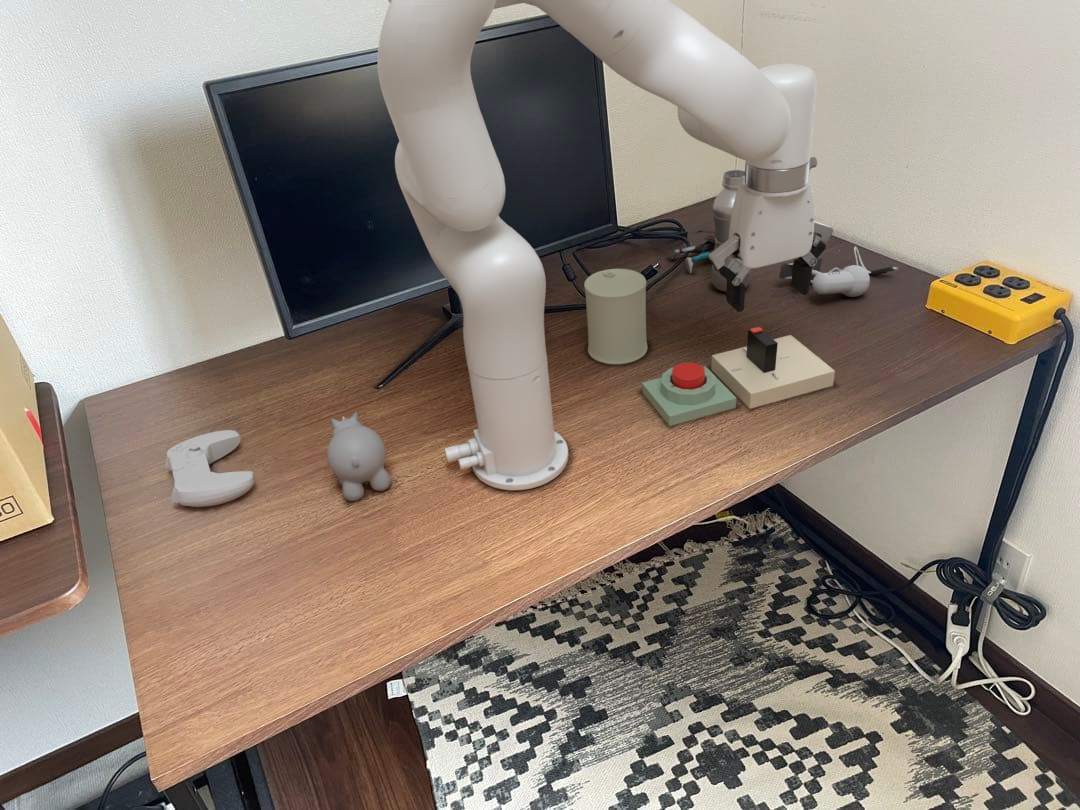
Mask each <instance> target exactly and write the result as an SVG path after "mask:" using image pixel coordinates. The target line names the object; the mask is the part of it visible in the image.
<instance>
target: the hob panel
mask: <svg viewBox="0 0 1080 810" xmlns="http://www.w3.org/2000/svg"><path fill="white" fill-rule="evenodd" d="M773 339H774V340H775V341H776V342H777V343H778V345H777V356H776V367H775V370H773V371H770V372H766V373H763V372H762V371H761V370H760V369H759V368H758V367H757V366H756V365H755V364H754V363H753V362H751V361H750V360H749V359H748V358H747V357H746V354H747V345H746V346H742V347H738V348H735V349H731V350H727V351H723V352H720V353H715V354H712V355H711V367H710V369H711V370H710V371H711V372H712V373H713V374H714V375H715V376H716V377H717V378H718V379H719V380H721V382H722V383H723V384H724V385H725V386H727V388H728V389H729V390H731V392H732V393H734V395H736V396H737V398H739V400H740V401H742V402H743V404H744V405H745V406H746V407H747V408H748V409H749V410H750V409H751V410H752V409H754V408H757V407H761V406H765V405H768V404H772V403H776V402H781V401H782V400H786V399H790V398H794V397H797V396H801V395H803V394H804V395H805V394H808V393H812V392H815V391H820V390H823V389H827V388H831V387H833V386H834V381H835V374H836V370H834V369H833V368H832V366H830V365H828V364H827V363H826V362H825V361H823V360H822V359H821V358H820V357H819V356H817V354H815V353H813V352H812V351H811V350H810V349H809V348H808V347H806V346H805V345H804V344H802V343H801V342H800V341H799V340H798V339H797V338H795V337H794V336H793V335H791V334H789V335H785V336H781V337H777V338H773Z"/></svg>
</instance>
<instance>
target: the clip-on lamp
mask: <svg viewBox="0 0 1080 810" xmlns="http://www.w3.org/2000/svg"><path fill="white" fill-rule="evenodd" d="M853 253H854V258H855V262H856V264H851V265H848V266H845V267H844V268H843V269H841V268H840V267H834V268H832V269H830V270H829V271H828V272H821V267H822V262H823V258H822V257H818V258H817V263H816V265H815V266H812V273H811V282H810V284H811V285H812V289H813V291H814V292H815V293H816V294H817V295H821V296H822V295H832V294H834V295H835V294H842V295H844V296H846V297H849V298H850V297H851V298H855V297H859V296H862V295H863V294H865V293H866V292H867V291H868V289H869V287H870V282H871V277H870V274H871V275H874V276H875V275H878V276H880V275H882V274H888V273H889V272H893V271H898V270H899V267H895V266H894V265H893V266H886V267H882V268H877V269H872V270H868V269H867V268H866V267H865V265H864V263H863V260H862V257H861V255H860V252H859V249H858V247H857V246H854V247H853ZM858 260H859V261H858ZM793 262H794V261H787V262H782V264H781V265H780V270H779V278H780V279H783V280H784V279H790V280H792V270H793ZM859 263H860V265H859Z"/></svg>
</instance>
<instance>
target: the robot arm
mask: <svg viewBox="0 0 1080 810" xmlns="http://www.w3.org/2000/svg"><path fill="white" fill-rule="evenodd" d="M387 1H388V3H389V5H388V7H387V11H386V12H385V16H384V19H383V22H382V27H381V31H380V35H379V40H378V47H377V61H376V62H377V74H378V75H377V76H378V82H379V86H380V90H381V93H382V97H383V99H384V103H385V106H386V109H387V112H388V114H389V116H390V118H391V122H392V125H393V127H394V130H395V133H396V136H397V138H398V142H397V146H396V149H395V155H394V169H395V174H396V179H397V181H398V184H399V187H400V189H401V192H402V195H403V197H404V199H405V202H406V204H407V206H408V208H409V210H410V213H411V215H412V218H413V220H414V223H415V224H416V225H415V226H416V227H417V230H418V231H419V234H420V236H421V238H422V241H423V242H424V245H425V247H426V249H427V251H428V253H429V255H430V257H431V260H432V261H433V263H434V265H435V266H436V268H437V269H438V271H439V272H440V273H441V275H443V277H444V278H445V279H446V280H447V282H448V283H449V284H450V285H449V286H451V288H452V289H453V290H454V291H455V293H456V294H457V296H458V298H459V301H460V303H461V307H462V315H463V317H462V318H463V322H462V323H463V324H462V334H463V336H462V337H463V345H464V354H465V359H466V365H467V370H468V375H469V381H470V387H471V394H472V398H473V406H474V411H475V418H476V423H477V424H476V425H477V428H476V429H473V437H472V438H470V439H469V438H468V439H467V442H466V443H462V444H456V445H451V446H447V447H444V448H443V451H444V456H445V459H446V462H447V463H448V464H450V463H453V462H457V461H458V466H459V469H460V470H461V471H462V470H465V469H470V468H471V467H472V471H473V473H474V475H475V476H476V477H477V478H478V479H479V481H481V482H482V483H484V484H485V485H487V486H488V487H489V486H490V487H492V488H495V489H499V490H504V491H525V490H532V489H534V488H537V487H540V486H541V487H542V486H544V485H546V484H548V483H550V482H551V481H553V480H554V479H556V478H557V477H559V475H561V474H562V473H563V471H564V469H566V466H567V464H568V462H569V456H570V455H569V446H568V444H567V441H566V440H565V439H564V437H563V436H562V435H561V434H560V433H558V432H557V431H555V425H554V413H553V404H552V396H551V385H550V383H551V382H550V376H549V375H550V373H549V365H548V364H549V363H548V354H547V346H546V345H547V344H546V336H545V335H546V333H545V303H546V293H547V281H546V273H545V269H544V265H543V263H542V261H541V259H540V256H539V255H538V254H537V252H536V250H535V249H534V248H533V247H532V245H531V244H530V243H529V242H528V241H527V240H526V239H525V237H523V236H522V235H521V234H520V233H518V232H517V230H515V229H514V228H513V227H512V226H510V225H508V224H507V223H506V222H505V221H504V220H503V218H501V217H500V214H501V212H502V209H503V208H504V204H505V199H506V182H505V175H504V172H503V169H502V166H501V162H500V160H499V157H498V156H497V152H496V150H495V148H494V146H493V143H492V140H491V137H490V134H489V132H488V129H487V126H486V122H485V119H484V117H483V114H482V112H481V109H480V106H479V102H478V100H477V95H476V91H475V88H474V83H473V79H472V74H471V62H472V61H471V60H472V54H473V50H474V47H475V44H476V42H477V39H478V37H479V35H480V33H481V31H482V29H483V28H484V27H485V25H486V23H487V21H488V20H489V18H490V17H491V14H492V12H493V10H496V9H500V8H501V9H502V8H506V7H510V6H515V5H521V4H526V5H530V6H533V7H536V8H538V9H539V10H540V11H542V12H543V13H544V14H545V15H547V16H548V17H549V18H551V19H552V20H553V21H555V22H556V23H557V24H558V25H559V26H560V27H561V28H562V29H564V30H565V31H566V32H568V33H569V34H570V35H572V36H573V37H574V38H575V39H576V40H577V41H578V42H580V43H581V44H582V45H583V46H585V47H586V48H587V49H588V50H589V51H590V52H592V53H593V54H594V55H595V56H596V57H597V58H598V59H599V60H600V61H602V62H603V63H604V64H605V65H606V66H607V67H609V68H610V70H612V71H613V72H615V74H617V75H619V76H620V77H622V78H623V79H625V80H627V81H628V82H630V83H631V84H632V85H634V86H636V87H638V88H640V89H642V90H643V91H646V92H648V93H650V94H653V95H654V96H657V97H659V98H661V99H663V100H665V101H667V102H668V103H670V104H672V105H675V106H676V107H677V118H678V122H679V125H680V126H681V127H682V129H683V130H684V131H685V133H687V135H689V136H690V137H692V138H693V139H695V140H697V141H699V142H701V143H704V144H706V145H709V146H711V147H712V148H716V149H717V150H720V151H722V152H724V153H726V154H729V155H731V156H733V157H735V158H737V159H739V160H743V161H744V162H745V164H744V165H745V166H744V171H745V183H744V185H741V186H739V187H738V190H737V193H736V196H735V200H734V204H733V209H732V215H731V222H730V229H729V239H728V240H727V241H726V242H725V243H723V244H722V245H721V246H719V247H718V248H717V249H715V250H714V251H713V252H712V253H710V255H709V259H708V260H709V261H710V263H711V265H712V264H713V266H714V268H715V270H716V271H717V272H718V273H719V274H720V275H722V276H723V277H724V278H726V279H727V286H726V292H725V300H726V303H728V305H729V306H730V307H732V308H733V309H734V310H735V311H736V312H738V313H741V312H744V310H745V300H746V299H745V298H746V297H745V296H746V288H745V285H744V284H743V283H742V281H743V279H744V278H745V276H746V275H747V274H748V272H749V271H750V270H751V271H752V270H754V269H759V268H762V267H768V266H773V265H775V264H780V263H785V262H789V261H791V260H793V261H792V262H793V270H792V279H791V282H790V285H791V288H793V289H794V290H796V291H797V292H798V293H800V294H801V295H803V296H806V295H809V294H810V284H811V283H810V282H811V281H812V279H811V273H812V266H815V265H816V263H817V258H820V256H821V254H823V252H824V251H825V250H826V249H827V243H829V241H830V238H831V236H832V235H833V233H834V229H833V228H832V227H831V226H829V225H827V224H825V223H822V222H819V221H816V220H815V198H814V197H815V196H814V189H813V183H812V181H811V180H810V179H809V178H810V171H811V170H812V169H814V168H817V166H818V160H817V158H816V157H815V156H811V154H812V153H811V152H812V143H813V134H814V133H813V131H814V122H815V112H816V111H815V109H816V98H817V89H818V78H817V74H816V72H815V71H814V69H813V68H811V67H810V66H808V65H804V64H799V63H777V64H776V63H775V64H770V65H767V66H764V67H761V68H758V67H757V66H756V65H754V63H752V61H750V60H749V59H748V58H747V57H746V56H744V55H743V54H742V53H740V52H739V51H738V50H737V49H735V48H734V47H733V46H731V45H730V44H729V43H728V42H726V41H724V40H723V39H722V38H721V37H719V36H717V35H716V34H715V33H713V31H711V30H710V29H708V28H707V27H705V25H703V24H702V23H701V22H699V21H698V19H696V18H694V17H693V16H692V15H690V14H689V13H688V12H686V11H685V10H684V9H682V8H681V7H679V6H678V5H676V4H675V3H674V2H673V1H672V0H387ZM814 234H815V238H814ZM728 256H730V257H732V258H733V259H732V261H731V262H730V264H729V265H728V266H726V264H725V259H726V258H727V257H728ZM740 265H741V267H740V268H739V269H738V267H739V266H740ZM737 269H738V271H737V272H736V270H737ZM735 272H736V274H735Z"/></svg>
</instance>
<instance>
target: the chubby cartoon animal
mask: <svg viewBox="0 0 1080 810" xmlns="http://www.w3.org/2000/svg"><path fill="white" fill-rule="evenodd" d="M330 421H331V424H332V428H333V429H332V435H331V436H332V437H331V439H330V441H329V443H328V446H327V449H326V459H327V464H328V466H329V468H330V470H331V471H332V473H333V474H334V475H335V476H336V477H337V478H338V483H339V484H340V486H341V487H342V495H343V497H344V499H345V500H346V501H350V502H356V501H358V500H360V499H362V498H363V497H364V495H365V488H364V486H363V485H368V483H369V484H370V487H371V488H372V489H373V490H375V491H376V492H382V491H385V490H387V489H388V488H389V487H390V485H391V484H392V483H391V482H392V478H391V476H390V474H389V472H388V471H387V470H386V469H385V467H384V465H385V463H386V458H387V449H386V445H385V442H384V441H383V439H382V437H381V436H380V434H379V433H377V432H376V431H375V430H374V429H371V428H370V427H369V426H364V424H362V423H361V422H360V421H359V413H358V412H357V411H355V412H354V413H353V414H352V416H350V417H349V418H346V417H345V416H344V415H342V418H341V420H337V419H335V418H333V417H332V418H331V419H330Z"/></svg>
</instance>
